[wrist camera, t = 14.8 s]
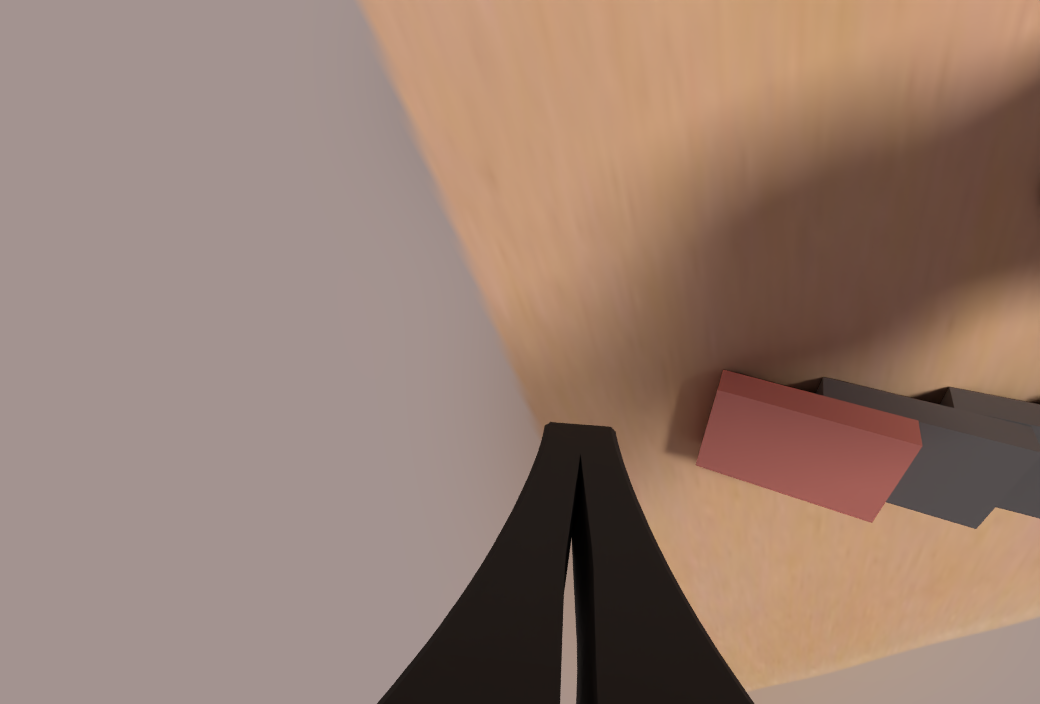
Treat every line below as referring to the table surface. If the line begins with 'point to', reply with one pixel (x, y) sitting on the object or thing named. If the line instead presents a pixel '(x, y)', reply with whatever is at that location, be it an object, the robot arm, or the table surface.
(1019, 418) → the domino
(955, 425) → the domino
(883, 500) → the red domino
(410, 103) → the table surface
